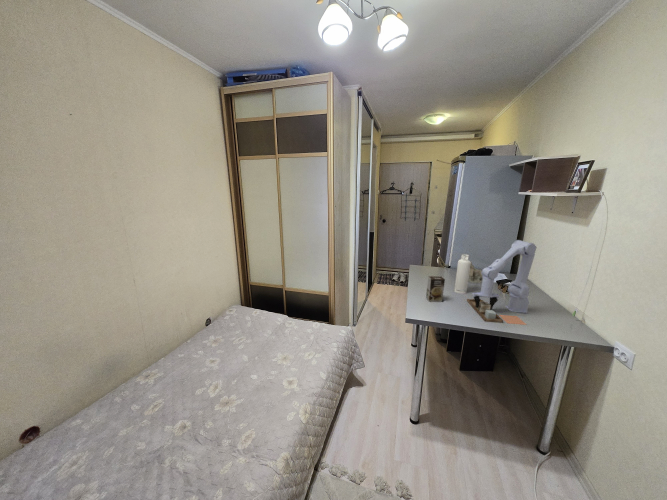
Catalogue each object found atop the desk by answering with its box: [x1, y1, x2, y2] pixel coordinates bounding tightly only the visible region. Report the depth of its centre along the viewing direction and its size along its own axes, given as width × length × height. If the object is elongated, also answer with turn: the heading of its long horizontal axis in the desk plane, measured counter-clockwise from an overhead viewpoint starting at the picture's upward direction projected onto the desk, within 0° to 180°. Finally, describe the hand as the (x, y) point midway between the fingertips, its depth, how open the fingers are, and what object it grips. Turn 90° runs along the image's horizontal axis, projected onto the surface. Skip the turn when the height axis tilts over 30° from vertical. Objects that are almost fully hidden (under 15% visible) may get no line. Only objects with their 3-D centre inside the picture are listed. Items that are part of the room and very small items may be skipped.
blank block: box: [485, 309, 497, 319], centre depth 144 cm, size 4×4×4 cm
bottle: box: [454, 253, 472, 295], centre depth 180 cm, size 8×8×28 cm
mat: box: [498, 314, 528, 326], centre depth 143 cm, size 10×10×1 cm
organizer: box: [466, 298, 504, 324], centre depth 153 cm, size 10×27×2 cm, turn 172°
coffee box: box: [425, 275, 446, 303], centre depth 167 cm, size 9×6×16 cm
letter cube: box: [477, 301, 491, 312], centre depth 153 cm, size 5×5×5 cm
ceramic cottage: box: [468, 261, 483, 284], centre depth 205 cm, size 16×16×15 cm
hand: (483, 307), depth 153 cm, fingers open, 7 cm apart
